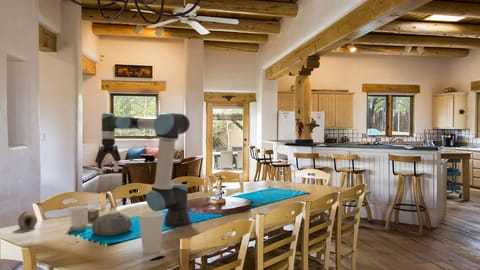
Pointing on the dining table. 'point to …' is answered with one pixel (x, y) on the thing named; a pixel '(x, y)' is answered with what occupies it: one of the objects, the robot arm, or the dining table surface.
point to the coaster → (82, 227)
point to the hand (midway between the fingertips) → (108, 172)
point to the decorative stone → (111, 224)
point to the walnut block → (93, 214)
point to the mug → (79, 216)
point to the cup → (151, 231)
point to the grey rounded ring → (27, 220)
